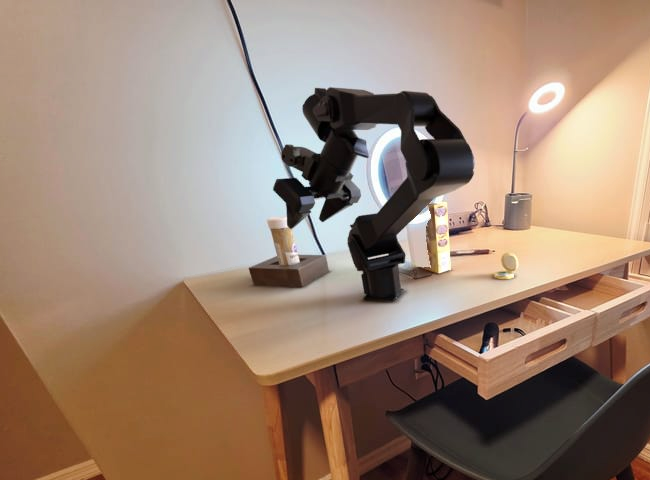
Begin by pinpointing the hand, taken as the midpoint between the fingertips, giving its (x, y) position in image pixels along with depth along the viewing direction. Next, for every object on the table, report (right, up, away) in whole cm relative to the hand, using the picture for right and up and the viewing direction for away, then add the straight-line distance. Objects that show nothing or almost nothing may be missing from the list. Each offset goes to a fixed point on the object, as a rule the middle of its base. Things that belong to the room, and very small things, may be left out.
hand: (305, 223), depth 78 cm
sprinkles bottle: (-7, -10, +9) cm, 15 cm away
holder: (-7, -9, +10) cm, 15 cm away
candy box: (+25, -6, +14) cm, 30 cm away
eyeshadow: (+42, -9, +7) cm, 44 cm away
